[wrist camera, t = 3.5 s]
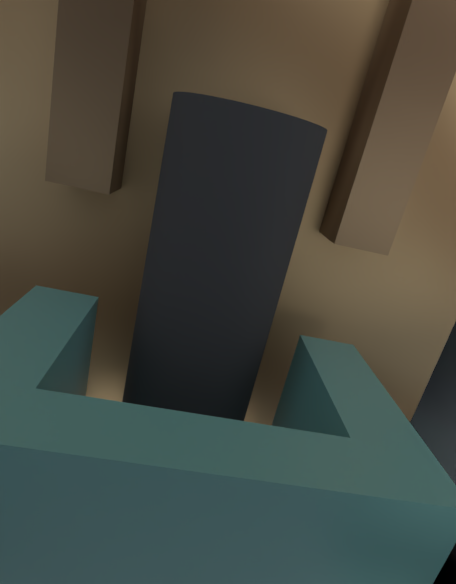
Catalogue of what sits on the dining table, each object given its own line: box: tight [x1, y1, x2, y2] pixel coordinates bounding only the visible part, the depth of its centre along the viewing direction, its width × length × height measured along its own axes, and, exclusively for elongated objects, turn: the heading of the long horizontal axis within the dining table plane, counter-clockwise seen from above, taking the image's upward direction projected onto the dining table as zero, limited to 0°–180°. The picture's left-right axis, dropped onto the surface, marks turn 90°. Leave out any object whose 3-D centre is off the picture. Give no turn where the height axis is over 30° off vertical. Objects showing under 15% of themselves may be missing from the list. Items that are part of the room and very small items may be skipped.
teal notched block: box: [0, 285, 456, 584], centre depth 7 cm, size 4×7×4 cm, turn 77°
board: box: [0, 0, 456, 425], centre depth 10 cm, size 22×13×2 cm, turn 167°
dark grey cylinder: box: [122, 92, 327, 421], centre depth 9 cm, size 12×3×3 cm, turn 167°
